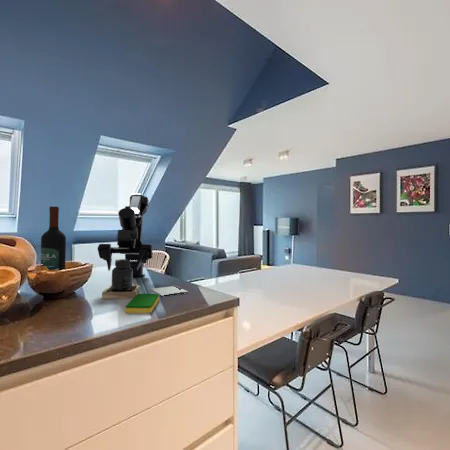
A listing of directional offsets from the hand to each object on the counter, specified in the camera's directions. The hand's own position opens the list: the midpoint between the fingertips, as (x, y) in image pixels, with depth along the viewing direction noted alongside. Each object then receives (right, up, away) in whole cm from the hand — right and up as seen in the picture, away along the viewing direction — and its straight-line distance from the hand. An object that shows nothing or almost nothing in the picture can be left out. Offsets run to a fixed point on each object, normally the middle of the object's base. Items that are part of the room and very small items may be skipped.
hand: (122, 269), depth 100 cm
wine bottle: (-25, -8, +1) cm, 27 cm away
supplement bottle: (0, -9, -1) cm, 9 cm away
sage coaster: (+15, -9, +5) cm, 18 cm away
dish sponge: (+11, -9, -13) cm, 19 cm away
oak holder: (0, -8, -1) cm, 8 cm away
